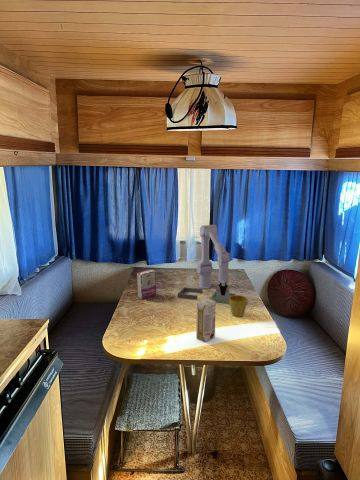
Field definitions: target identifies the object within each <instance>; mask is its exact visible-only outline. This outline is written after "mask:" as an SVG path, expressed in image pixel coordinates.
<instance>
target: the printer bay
mask: <svg viewBox="0 0 360 480" xmlns="http://www.w3.org/2000/svg"><path fill="white" fill-rule="evenodd" d="M203 289H204V288H195V287H187V286H184V287H183V288H182V289H181V290H180V291H178V293H177V298H179V299H187V300H197V301H198V295H194V294H188V292H189V293H197V294H204V293H203V292H204V290H203ZM185 292H187V294H186V293H185Z"/></svg>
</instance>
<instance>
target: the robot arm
mask: <svg viewBox="0 0 360 480" xmlns="http://www.w3.org/2000/svg"><path fill="white" fill-rule="evenodd" d="M199 227H200V228H199V237H201V239H200V240H201V241H200V242H201V246H200V247H201V251H200V252H201V260H199V262H197V266H196V272H197V274H198V275H199V278H198V280H199V281H198V282H199V285H197V289H208V290H209V289H210V288H211V287H212V285H213V284H212V283H211V282H212V281H211V280H212V279H211V274H212V273H213V270H214V268H213V263H212V262H211V261H210V240H211V241H212V243H213V245H214V246H213V247H214V248H213V249H214V250H215V253H216V255H217V264H218V278H217V279H216V281H218V282H219V284H218V288H220V291H221V295H222V296H225V293H226V289H227V288H229V285H228V282H229V265H230V264H229V263H230V262H231V259H232V258H231V254H230V253H229V252H228V251H227V250H226V248H225V246H224V244H223V243H221V241H220V239H219V236H218V227H217V225H216V224H208V225H207V224H205V225H201V226H199Z"/></svg>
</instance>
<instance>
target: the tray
mask: <svg viewBox="0 0 360 480" xmlns="http://www.w3.org/2000/svg"><path fill="white" fill-rule="evenodd" d="M233 295H237V294H236V293H233V292H229V297H230V296H233ZM209 299H211V300H214V301H216V303H218V304H227V305H230V304H229V300H223V299H216V290H215V291H214V292H213V294H211V296H210V297H209Z"/></svg>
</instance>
